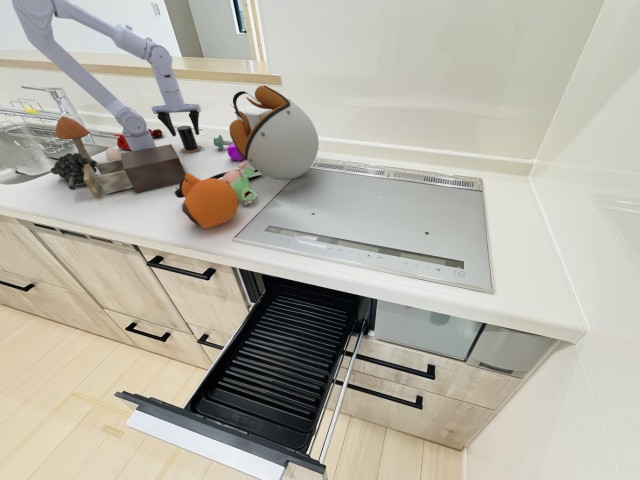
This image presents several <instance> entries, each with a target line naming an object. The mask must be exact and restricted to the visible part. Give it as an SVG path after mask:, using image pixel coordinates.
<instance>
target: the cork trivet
mask: <svg viewBox="0 0 640 480" xmlns="http://www.w3.org/2000/svg"><path fill="white" fill-rule="evenodd" d="M197 146H198V148H197V149H194V150H185V148H184V147H182V149H181V150H182V152H184V153H185V154H192V153H197V152H199V151H200V150H201V146H200V145H198V144H197Z"/></svg>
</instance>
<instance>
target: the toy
mask: <svg viewBox="0 0 640 480" xmlns="http://www.w3.org/2000/svg"><path fill="white" fill-rule="evenodd" d="M185 174H186V175H185V179H183V180H182V181H181V183H179V185H178V189H179V190H180V191H181V192H182V193H183V195H184V196H185V197H184V198H185V199H184V200H183V202H182V205H181V211H182V213H184V214H185V215H186V216H187V218H188V219H189V220H190V221H191V222H192V223H193V224H194V225H196V226H197V227H199V228H201V230H204V229H211V228H213V227H214V228H215V227H217V226H219V225H222V224H224V223H227V222H228V221H229V220H231V219H232V218H233V217H235V215H236V213H237V211H238V207H239V198H238V197H237V195H236V193H235V191H234V189H233V188H232V187H231V186H230V185H229V184H227V183H226V182H224V181H222V180H221V179H220V178H219V179H220V180H219V179H215V178H210V177H208V178H204V179H200V178H197V177H195V176H194V175H193V174H192V173H185Z"/></svg>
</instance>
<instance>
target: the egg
mask: <svg viewBox="0 0 640 480" xmlns="http://www.w3.org/2000/svg"><path fill="white" fill-rule="evenodd" d="M121 153H122V152H121V151H120V150H119V149H117V148H116V147H111V146H110V147H108V148H107V149H106V151H105V157H106V162H108V161H114V160H119V159H122V158H121Z"/></svg>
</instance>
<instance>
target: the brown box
mask: <svg viewBox="0 0 640 480" xmlns="http://www.w3.org/2000/svg"><path fill="white" fill-rule="evenodd" d="M121 158H122V163H123V168H124V170H125V172H126V174H127V176H128V178H129V180H130V181H131V183H132V185H133V187H134V188H133V189H134V191H135V193H136V194H140V193H144V192H147V191H152V190H157V189H160V188H164V187H168V186H172V185H173V186H174V185H177V184H180V183H181V181H182V180H183V179H185V175H186V174H187V173H186V171H185V169H184V167H183V164H182V161H181V159H180V157H179V155H178V153H177V152H176V149H175V148H174V146H173V144H172V143H169V144H164V145H160V146H159V145H158V146H156V147H153V148H147V149H142V150H137V151H131V150H130V151H126V152H121Z"/></svg>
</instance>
